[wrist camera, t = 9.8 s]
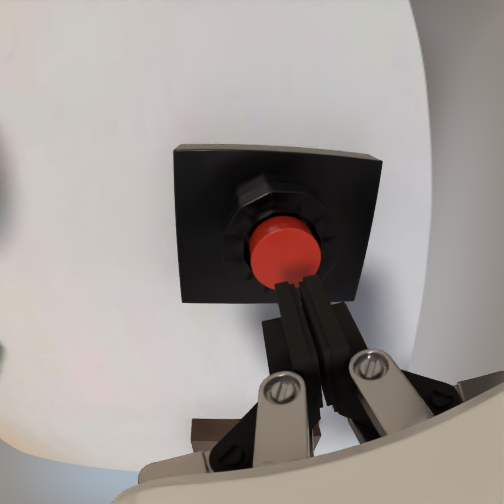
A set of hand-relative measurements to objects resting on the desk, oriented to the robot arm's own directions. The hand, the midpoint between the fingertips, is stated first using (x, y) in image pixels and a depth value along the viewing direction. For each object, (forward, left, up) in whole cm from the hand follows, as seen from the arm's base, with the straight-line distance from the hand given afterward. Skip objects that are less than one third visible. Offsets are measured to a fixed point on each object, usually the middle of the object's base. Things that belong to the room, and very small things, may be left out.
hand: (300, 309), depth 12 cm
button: (0, 0, -6) cm, 6 cm away
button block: (0, 0, -10) cm, 10 cm away
